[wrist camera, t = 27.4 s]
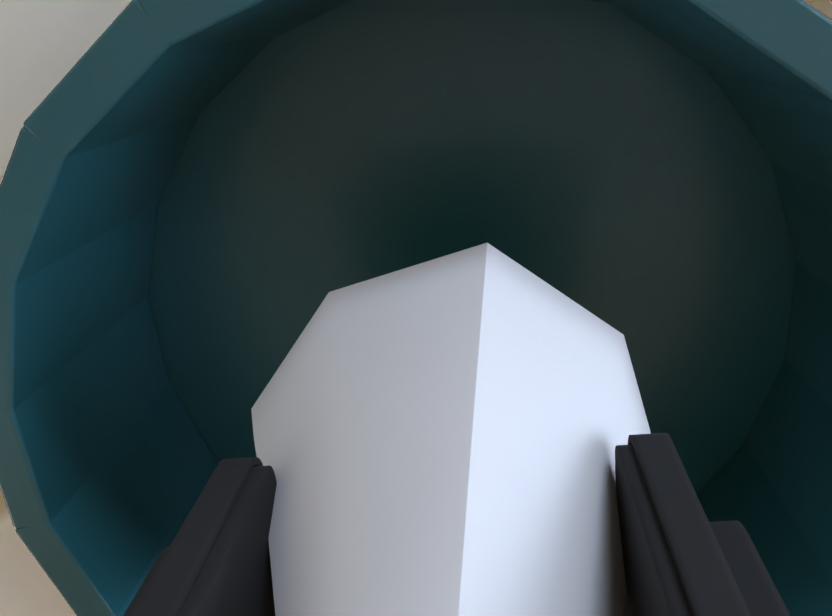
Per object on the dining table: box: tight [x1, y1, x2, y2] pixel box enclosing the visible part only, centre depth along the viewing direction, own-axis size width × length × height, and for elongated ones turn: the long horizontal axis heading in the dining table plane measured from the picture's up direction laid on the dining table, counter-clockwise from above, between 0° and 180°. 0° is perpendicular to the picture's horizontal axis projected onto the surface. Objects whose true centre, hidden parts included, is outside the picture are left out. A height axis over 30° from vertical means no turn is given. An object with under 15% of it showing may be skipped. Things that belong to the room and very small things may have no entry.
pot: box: [0, 0, 832, 616], centre depth 16 cm, size 18×18×6 cm
